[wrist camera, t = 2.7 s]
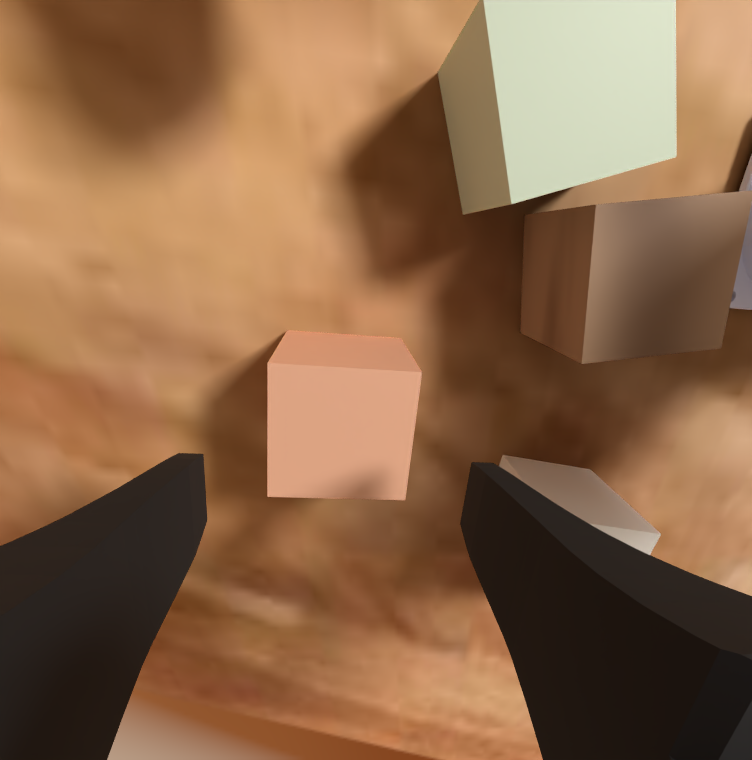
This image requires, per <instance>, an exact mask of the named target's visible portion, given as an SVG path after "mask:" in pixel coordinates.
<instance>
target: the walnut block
mask: <svg viewBox="0 0 752 760" xmlns="http://www.w3.org/2000/svg"><path fill="white" fill-rule="evenodd" d="M751 204H752V190H751V191H740V192H729V193H718V194H707V195H696V196H685V197H675V198H664V199H653V200H642V201H631V202H620V203H609V204H598V205H590V206H583V207H576V208H569V209H562V210H555V211H548V212H541V213H534V214H527V215H524V242H523V272H522V301H521V331H520V333H522V334H524V335H526V336H528V337H530V338H532V339H534V340H536V341H538V342H539V343H541V344H543V345H545V346H547V347H549V348H551V349H553V350H555V351H557V352H559V353H561V354H563V355H565V356H567V357H569V358H571V359H573V360H575V361H577V362H579V363H581V364H587V363H596V362H604V361H613V360H622V359H631V358H640V357H649V356H658V355H667V354H676V353H685V352H694V351H702V350H711V349H720V348H721V346H722V342H723V337H724V332H725V327H726V323H727V318H728V313H729V308H730V304H731V299H732V294H733V289H734V285H735V280H736V275H737V270H738V266H739V261H740V256H741V251H742V246H743V242H744V237H745V232H746V227H747V223H748V218H749V213H750V208H751Z"/></svg>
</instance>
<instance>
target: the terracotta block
mask: <svg viewBox="0 0 752 760" xmlns="http://www.w3.org/2000/svg"><path fill="white" fill-rule="evenodd" d="M421 377H422V371H421V370H420V368H419V366H418V365H417V363H416V361H415V360H414V358H413V357H412V355H411V353H410V352H409V350H408V349H407V347H406V345H405V344H404V342H403V340H402V339H401V338H393V337H379V336H364V335H350V334H335V333H321V332H306V331H291V330H287V331H286V333H285V335H284V336H283V338H282V340H281V341H280V343H279V345H278V346H277V348H276V350H275V351H274V353H273V355H272V356H271V358H270V360H269V361H268V409H267V497H295V498H336V499H376V500H405V498H406V490H407V483H408V475H409V468H410V460H411V453H412V445H413V438H414V430H415V422H416V415H417V407H418V400H419V392H420V385H421Z"/></svg>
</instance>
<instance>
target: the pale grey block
mask: <svg viewBox="0 0 752 760" xmlns="http://www.w3.org/2000/svg"><path fill="white" fill-rule="evenodd" d="M499 467H501V468H503V469H504V470H506V471H507V472H509V473H511V474H512V475H514V476H515V477H517V478H518V479H520V480H521V481H523V482H524V483H526V484H527V485H529V486H530V487H532V488H533V489H535V490H536V491H538V492H539V493H541V494H542V495H544V496H545V497H547V498H548V499H550V500H551V501H553V502H554V503H556V504H557V505H559V506H561V507H562V508H564V509H565V510H567V511H569V512H570V513H572V514H574V515H575V516H577V517H579V518H580V519H582V520H584V521H585V522H587V523H589V524H590V525H592V526H594V527H596V528H597V529H599V530H601V531H603V532H605V533H607V534H608V535H610V536H612V537H614V538H616V539H618V540H620V541H622V542H624V543H626V544H628V545H630V546H632V547H634V548H636V549H638V550H640V551H642V552H644V553H646V554H648V555H650V554H651V552H652V550H653V548H654V546H655V545H656V543H657V541H658V539H659V537H660V535H661V534H660V533H659V532H658V531H657V530H656V529H655V528H654V527H653V526H652V525H651V524H650V523H648V522H647V521H646V520H645V519H644V518H643V517H642V516H641V515H640V514H639V513H638V512H636V511H635V510H634V509H633V508H632V507H631V506H630V505H629V504H628V503H627V502H626V501H624V500H623V499H622V498H621V497H620V496H619V495H618V494H617V493H616V492H615V491H614V490H612V489H611V488H610V487H609V486H608V485H607V484H606V483H605V482H604V481H603V480H602V479H600V478H599V477H598V476H597V475H596V474H595V473H594V472H593V471H592V470H591V469H585V468H579V467H573V466H567V465H561V464H555V463H549V462H543V461H538V460H532V459H526V458H520V457H514V456H508V455H503V456H502V459H501V461H500V464H499Z"/></svg>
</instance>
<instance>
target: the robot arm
mask: <svg viewBox="0 0 752 760" xmlns="http://www.w3.org/2000/svg"><path fill="white" fill-rule="evenodd" d="M751 190H752V154H751V157H750V160H749V163H748V166H747V169H746V172H745V175H744V178H743V180H742V183H741V186H740V189H739V192H740V191H751ZM730 308H734V309H746V310H752V204H751V208H750V213H749V218H748V223H747V227H746V232H745V237H744V242H743V246H742V251H741V256H740V261H739V266H738V270H737V275H736V280H735V285H734V289H733V294H732V299H731V304H730ZM206 522H207V508H206V491H205V474H204V457H203V454H187V453H178V454H176V455H174V456H172V457H170V458H168V459H167V460H165V461H163V462H161V463H160V464H158V465H156V466H155V467H153V468H151V469H149V470H148V471H146V472H144V473H143V474H141V475H139V476H138V477H136V478H134V479H133V480H131V481H129V482H127V483H126V484H124V485H122V486H121V487H119V488H117V489H115V490H114V491H112V492H110V493H108V494H106V495H105V496H103V497H101V498H99V499H97V500H95V501H93V502H92V503H90V504H88V505H86V506H84V507H82V508H80V509H79V510H77V511H75V512H73V513H71V514H69V515H67V516H65V517H63V518H61V519H59V520H57V521H55V522H53V523H51V524H49V525H47V526H45V527H43V528H40V529H38V530H36V531H34V532H32V533H29V534H27V535H25V536H23V537H20V538H18V539H16V540H14V541H11V542H9V543H7V544H4V545H2V546H0V760H107V758H108V755H109V753H110V750H111V747H112V744H113V742H114V739H115V736H116V733H117V731H118V728H119V725H120V722H121V719H122V717H123V714H124V712H125V709H126V707H127V704H128V701H129V699H130V696H131V694H132V691H133V688H134V686H135V683H136V681H137V678H138V675H139V673H140V670H141V668H142V665H143V663H144V661H145V658H146V656H147V654H148V652H149V649H150V647H151V645H152V643H153V641H154V639H155V637H156V635H157V633H158V631H159V629H160V627H161V625H162V623H163V621H164V619H165V617H166V614H167V612H168V610H169V608H170V606H171V604H172V602H173V600H174V598H175V596H176V594H177V592H178V590H179V588H180V586H181V584H182V582H183V580H184V578H185V576H186V574H187V572H188V570H189V568H190V566H191V564H192V561H193V559H194V557H195V555H196V552H197V549H198V546H199V543H200V541H201V538H202V535H203V531H204V528H205V525H206ZM460 524H461V528H462V532H463V536H464V540H465V543H466V547H467V550H468V553H469V557H470V559H471V562H472V564H473V567H474V569H475V571H476V574H477V576H478V578H479V581H480V583H481V586H482V588H483V590H484V593H485V595H486V597H487V599H488V602H489V604H490V606H491V609H492V611H493V613H494V616H495V618H496V620H497V623H498V625H499V627H500V630H501V632H502V634H503V636H504V639H505V642H506V644H507V647H508V649H509V652H510V655H511V657H512V660H513V664H514V667H515V670H516V673H517V676H518V679H519V682H520V685H521V688H522V691H523V694H524V698H525V701H526V704H527V707H528V711H529V714H530V717H531V721H532V724H533V727H534V731H535V734H536V737H537V741H538V744H539V747H540V751H541V754H542V758H543V760H752V596H750V595H747V594H744V593H741V592H739V591H736V590H733V589H730V588H728V587H725V586H722V585H719V584H717V583H714V582H712V581H709V580H707V579H704V578H702V577H699V576H697V575H694V574H692V573H689V572H687V571H685V570H682V569H680V568H678V567H675V566H673V565H671V564H668V563H666V562H664V561H662V560H659V559H657V558H655V557H653V556H651V555H648V554H646V553H644V552H642V551H640V550H638V549H636V548H634V547H632V546H630V545H628V544H626V543H624V542H622V541H620V540H618V539H616V538H614V537H612V536H610V535H608V534H607V533H605V532H603V531H601V530H599V529H597V528H596V527H594V526H592V525H590V524H589V523H587V522H585V521H584V520H582V519H580V518H579V517H577V516H575V515H574V514H572V513H570V512H569V511H567V510H565V509H564V508H562V507H561V506H559V505H557V504H556V503H554V502H553V501H551V500H550V499H548V498H547V497H545V496H544V495H542V494H541V493H539V492H538V491H536V490H535V489H533V488H532V487H530V486H529V485H527V484H526V483H524V482H523V481H521V480H520V479H518V478H517V477H515V476H514V475H512V474H511V473H509V472H507V471H506V470H504V469H503V468H501V467H499V466H497V465H496V464H494V463H477V462H472V463H471V468H470V474H469V479H468V485H467V490H466V495H465V501H464V506H463V512H462V517H461V522H460Z"/></svg>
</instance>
